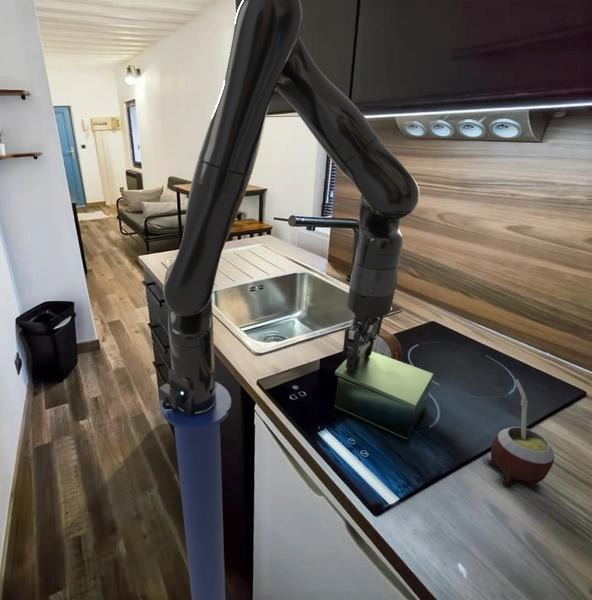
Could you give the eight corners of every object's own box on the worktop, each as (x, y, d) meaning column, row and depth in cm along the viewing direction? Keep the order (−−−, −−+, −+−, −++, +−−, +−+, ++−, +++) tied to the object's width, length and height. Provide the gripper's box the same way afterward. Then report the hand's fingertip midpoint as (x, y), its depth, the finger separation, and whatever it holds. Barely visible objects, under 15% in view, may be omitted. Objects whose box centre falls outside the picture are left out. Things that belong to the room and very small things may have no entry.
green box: (333, 408, 75) (338, 378, 72) (356, 381, 82) (361, 352, 79) (406, 442, 66) (414, 409, 63) (424, 408, 74) (432, 377, 70)
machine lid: (334, 374, 72) (338, 353, 70) (357, 349, 79) (361, 329, 77) (414, 408, 63) (421, 386, 61) (432, 376, 70) (439, 355, 68)
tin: (399, 371, 85) (406, 340, 81) (388, 374, 84) (395, 343, 80) (356, 339, 98) (360, 312, 94) (346, 342, 97) (350, 314, 94)
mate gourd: (532, 503, 55) (570, 428, 48) (471, 468, 61) (498, 398, 54) (546, 476, 59) (584, 404, 52) (488, 446, 64) (515, 378, 58)
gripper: (366, 270, 74) (354, 341, 81) (335, 293, 64) (324, 371, 72) (406, 279, 69) (390, 353, 76) (379, 305, 60) (363, 387, 67)
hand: (358, 361), depth 74 cm, fingers closed on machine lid, 6 cm apart
